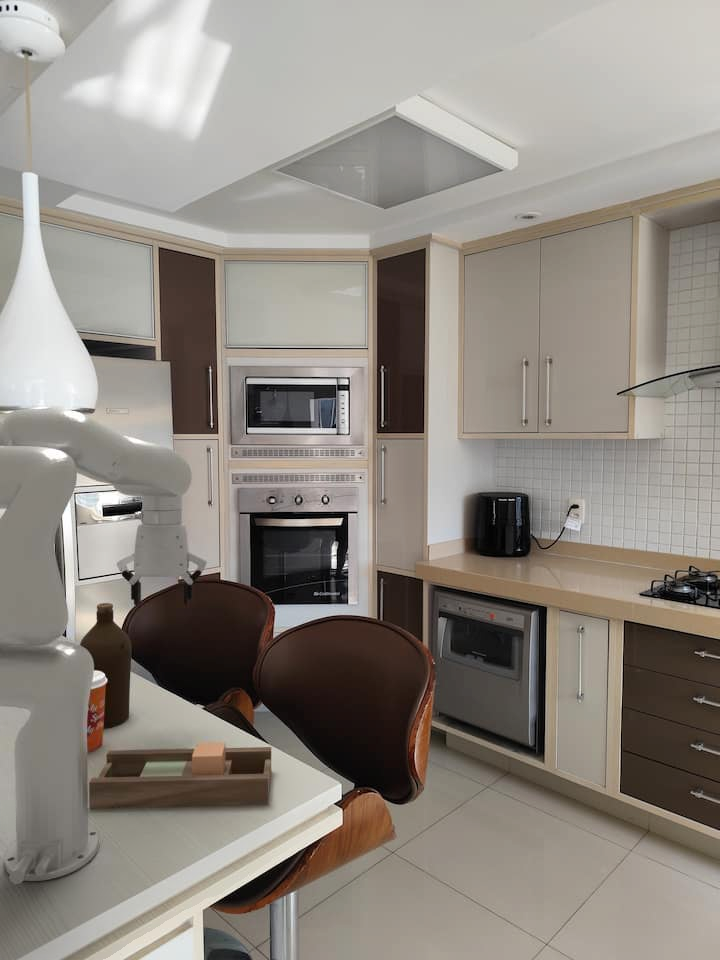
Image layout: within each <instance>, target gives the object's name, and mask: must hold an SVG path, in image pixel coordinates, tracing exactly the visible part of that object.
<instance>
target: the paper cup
mask: <svg viewBox="0 0 720 960" xmlns="http://www.w3.org/2000/svg"><path fill="white" fill-rule="evenodd" d="M106 683H107V678H106V677H105V674H104V673H103V672H101V671H95V670H94V674H93V680H92V686H91V691H90V697H89V704H88V715H87V753H89V752H88V751H90V752H93V751H95V750H97V749H100V748H101V746H102V745H103V740H104V738H103V737H104V728H103V726H104V707H105V687H106Z"/></svg>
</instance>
